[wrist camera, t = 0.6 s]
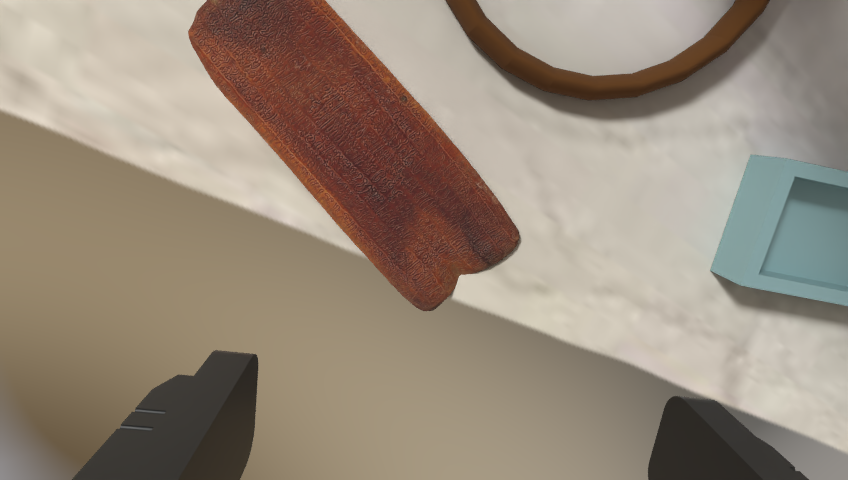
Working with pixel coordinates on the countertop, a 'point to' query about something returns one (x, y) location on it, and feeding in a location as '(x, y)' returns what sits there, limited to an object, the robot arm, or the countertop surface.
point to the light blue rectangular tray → (788, 230)
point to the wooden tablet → (355, 141)
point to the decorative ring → (608, 86)
